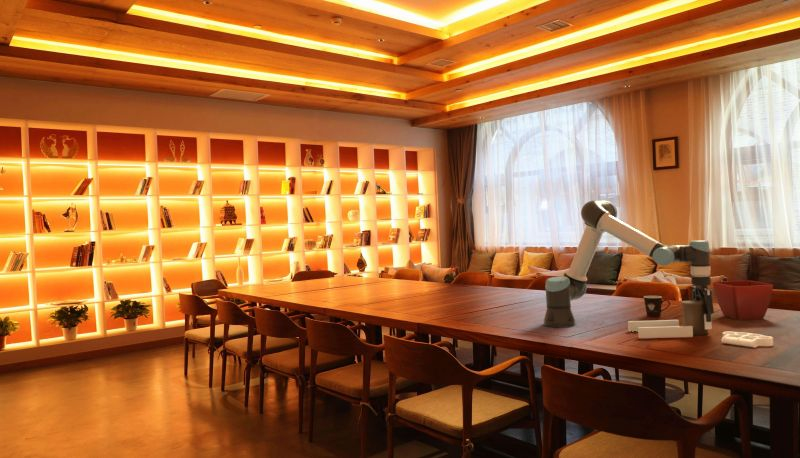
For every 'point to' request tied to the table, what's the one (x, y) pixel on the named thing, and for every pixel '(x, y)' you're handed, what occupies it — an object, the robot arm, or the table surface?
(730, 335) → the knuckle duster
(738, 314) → the plant pot
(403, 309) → the table surface
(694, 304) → the pillar candle
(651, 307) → the coffee mug
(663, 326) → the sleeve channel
